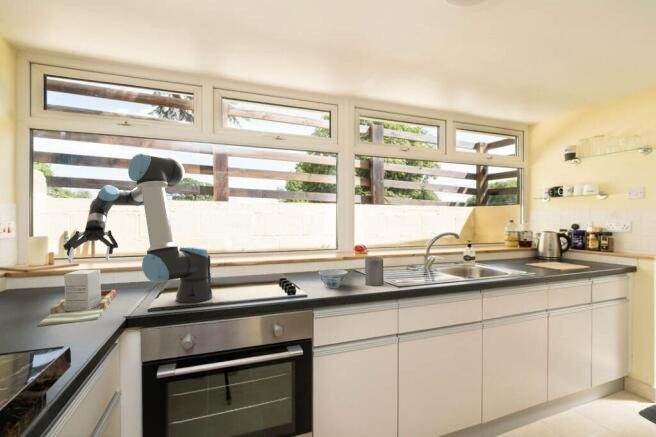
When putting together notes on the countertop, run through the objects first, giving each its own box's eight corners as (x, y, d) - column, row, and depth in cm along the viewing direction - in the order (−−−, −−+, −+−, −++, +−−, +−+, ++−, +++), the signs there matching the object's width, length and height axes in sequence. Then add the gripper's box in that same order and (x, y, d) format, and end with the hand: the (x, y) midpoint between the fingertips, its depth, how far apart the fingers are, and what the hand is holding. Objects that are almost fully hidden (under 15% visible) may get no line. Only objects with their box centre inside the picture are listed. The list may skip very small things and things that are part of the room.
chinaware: (352, 285, 171) (352, 271, 171) (338, 291, 159) (338, 275, 159) (328, 282, 179) (328, 268, 179) (312, 287, 167) (312, 272, 167)
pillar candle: (370, 281, 181) (370, 254, 181) (386, 283, 175) (386, 255, 175) (361, 284, 173) (361, 256, 173) (378, 287, 168) (378, 258, 167)
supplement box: (79, 305, 138) (78, 269, 138) (101, 304, 139) (101, 269, 139) (64, 311, 129) (63, 273, 129) (88, 310, 130) (87, 273, 130)
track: (72, 298, 149) (72, 291, 149) (116, 294, 156) (116, 288, 156) (38, 326, 112) (38, 317, 112) (97, 319, 119) (97, 311, 119)
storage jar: (199, 286, 171) (198, 258, 171) (187, 284, 176) (187, 256, 176) (214, 282, 180) (214, 255, 179) (203, 281, 185) (202, 254, 185)
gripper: (127, 229, 165) (122, 263, 152) (65, 230, 154) (55, 267, 141) (125, 219, 160) (120, 253, 147) (61, 219, 149) (50, 256, 136)
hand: (88, 260), depth 144 cm, fingers open, 13 cm apart
